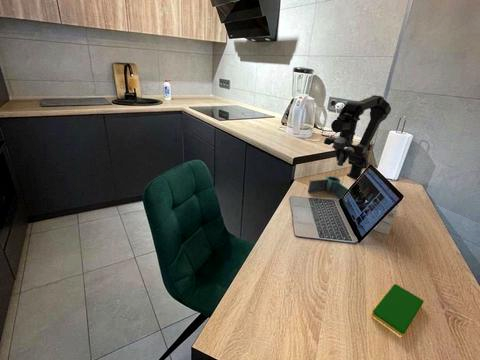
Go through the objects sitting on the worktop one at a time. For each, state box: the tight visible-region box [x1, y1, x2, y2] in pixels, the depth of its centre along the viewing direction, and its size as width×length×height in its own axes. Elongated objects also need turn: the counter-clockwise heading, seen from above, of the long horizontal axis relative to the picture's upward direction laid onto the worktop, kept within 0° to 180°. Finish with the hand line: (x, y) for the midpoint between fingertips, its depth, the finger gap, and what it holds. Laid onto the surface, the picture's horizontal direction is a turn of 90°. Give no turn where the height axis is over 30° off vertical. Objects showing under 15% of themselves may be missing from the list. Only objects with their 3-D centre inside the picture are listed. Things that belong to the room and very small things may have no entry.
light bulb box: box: [364, 199, 399, 236], centre depth 96 cm, size 11×7×11 cm, turn 58°
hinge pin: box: [336, 148, 348, 167], centre depth 126 cm, size 3×3×8 cm
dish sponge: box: [371, 283, 424, 337], centre depth 65 cm, size 7×14×2 cm, turn 131°
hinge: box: [307, 175, 350, 199], centre depth 119 cm, size 14×17×6 cm
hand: (340, 161), depth 127 cm, fingers closed on hinge pin, 3 cm apart
